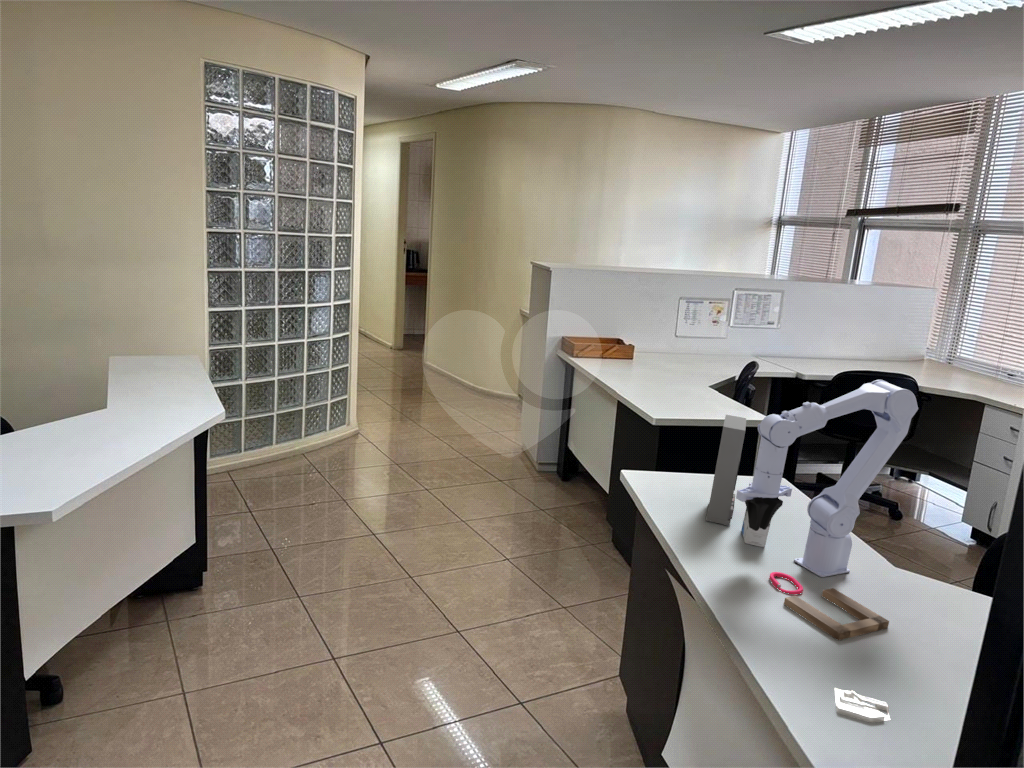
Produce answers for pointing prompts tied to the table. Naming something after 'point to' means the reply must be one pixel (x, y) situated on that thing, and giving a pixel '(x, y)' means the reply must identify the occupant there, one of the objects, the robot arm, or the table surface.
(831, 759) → the table surface
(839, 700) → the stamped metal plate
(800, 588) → the fitness band
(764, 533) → the ink box
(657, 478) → the table surface
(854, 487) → the robot arm
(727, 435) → the tall grey pillar
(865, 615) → the notched board
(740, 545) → the table surface
